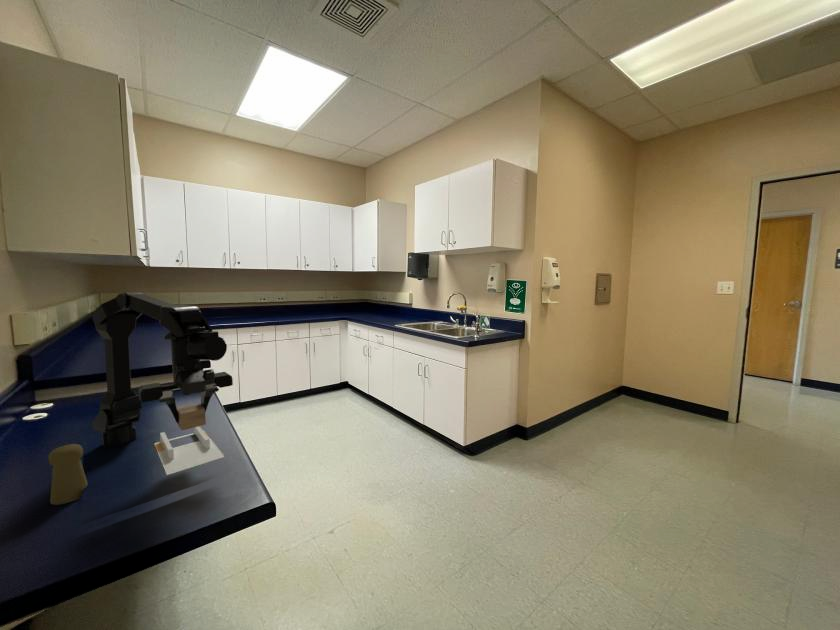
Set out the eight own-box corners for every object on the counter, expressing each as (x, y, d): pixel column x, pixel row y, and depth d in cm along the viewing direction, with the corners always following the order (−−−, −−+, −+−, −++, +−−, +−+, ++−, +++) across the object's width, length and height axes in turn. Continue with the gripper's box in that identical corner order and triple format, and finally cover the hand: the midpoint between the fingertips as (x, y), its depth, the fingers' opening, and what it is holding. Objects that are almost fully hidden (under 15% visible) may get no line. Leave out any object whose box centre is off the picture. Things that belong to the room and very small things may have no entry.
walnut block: (176, 423, 86) (175, 407, 86) (200, 417, 89) (199, 402, 89) (181, 430, 82) (180, 414, 81) (205, 424, 85) (204, 408, 85)
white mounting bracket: (154, 448, 96) (153, 434, 95) (204, 435, 104) (203, 422, 103) (167, 481, 80) (166, 464, 79) (225, 462, 88) (224, 447, 88)
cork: (54, 508, 70) (48, 456, 69) (46, 498, 74) (40, 449, 72) (93, 492, 75) (89, 444, 74) (84, 484, 79) (79, 438, 78)
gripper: (141, 370, 72) (146, 442, 74) (237, 356, 85) (241, 418, 87) (135, 361, 80) (141, 426, 82) (224, 350, 93) (228, 406, 95)
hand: (190, 419), depth 86 cm, fingers closed on walnut block, 5 cm apart
